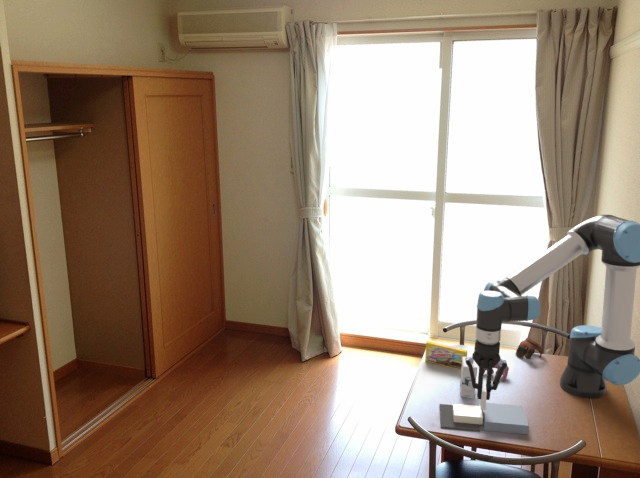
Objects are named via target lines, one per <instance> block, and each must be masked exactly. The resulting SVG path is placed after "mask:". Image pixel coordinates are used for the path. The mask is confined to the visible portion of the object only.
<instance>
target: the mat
mask: <svg viewBox="0 0 640 478" xmlns="http://www.w3.org/2000/svg"><path fill="white" fill-rule="evenodd" d="M439 420H440V421H439V422H440V428H441V429H448V430H449V429H450V430H458V431H470V432H471V431H472V432H479V433H480V432H481V428H480V424H470V423H459V422H454V420H453V404H447V403H446V404H445V403H444V404H443V403H439Z"/></svg>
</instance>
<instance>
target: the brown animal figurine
mask: <svg viewBox="0 0 640 478" xmlns="http://www.w3.org/2000/svg"><path fill="white" fill-rule="evenodd" d="M517 346H518V347H517V349H516V351H515V355H516V356H517V357H518V358H519V359H521V360H523V359H524V358H525V359H526V360H531V359H532V357H533V355H534V354H535V352H536V351H538V353H539V358H541V357H542V355H543V348H544V347H543V346H542V345H540V344H539V343H537V342H536V341H534V340H533V339H530V338H528V337H526V338H525V340H522V341H521V342H520V343H519V345H517Z"/></svg>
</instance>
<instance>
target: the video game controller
mask: <svg viewBox="0 0 640 478" xmlns="http://www.w3.org/2000/svg"><path fill="white" fill-rule="evenodd" d="M498 366H499V362H498V363H497V364H496V365H495V366H494V367H493V369H492V375H493V374H494V373H496V372H497V369H498ZM494 369H496V371H495V372H494ZM509 370H510V368H509V366H508V365H507V367H506V368H505V369H504V370H503V373H502V376H501V379H502V382H506V380H507V377H508V374H509ZM486 372H487V368H484V373H483V375H484V374H485V373H486Z"/></svg>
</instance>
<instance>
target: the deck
mask: <svg viewBox="0 0 640 478" xmlns="http://www.w3.org/2000/svg"><path fill="white" fill-rule="evenodd" d="M482 414H483V430H484V431H488V432H500V433H501V432H502V433H511V434H520V435H529V423H528V419H527V417H526V413H525V410H524V408H523V405H517V404H516V405H515V404H506V403H495V402H494V403H493V402H486V410H482Z"/></svg>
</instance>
